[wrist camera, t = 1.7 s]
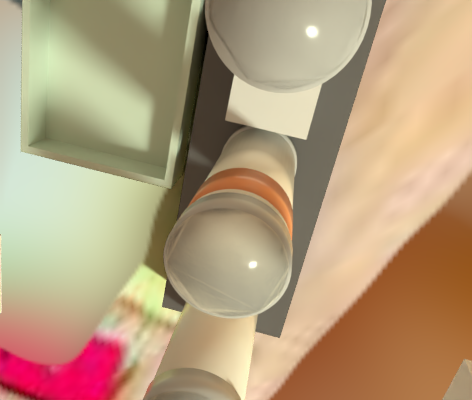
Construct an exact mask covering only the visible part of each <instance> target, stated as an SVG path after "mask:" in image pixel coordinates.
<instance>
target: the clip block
mask: <svg viewBox="0 0 472 400" xmlns="http://www.w3.org/2000/svg"><path fill="white" fill-rule="evenodd" d="M385 2H386V0H372V6H371V15H370V19H369V24H368V28H367V30H366V33H365V36H364V38H363V40H362V42H361V44H360V46H359V48H358V50H357V51H356V53H355V54H354V56H353V57H352V59H351V60H350V61H349V62H348V63H347V65H346V66H345V67H344V68H343V69H342V70H341V71H339V72H338V73H337V74H336V75H335V76H333V77H332V78H331V79H329V80H328V81H326V82H324V83H322V84H320V85H319V86H316V87H314V88H311V89H308V90H305V91H301V92H295V93H274V92H268V91H264V90H261V89H258V88H256V87H253V86H251V85H249V84H247V83H246V82H244V81H243V80H241V79H239V78H238V77H237V76H236V75H235V74H233V73H232V72H231V71H230V70H229V69H228V68H227V66H226V65H225V64H224V63H223V61H222V60H221V59H220V57H219V56H218V54H217V52H216V50H215V48H214V47H213V44H212V41H211V39H210V36H208V42H207V48H206V53H205V59H204V65H203V71H202V77H201V83H200V88H199V94H198V100H197V106H196V112H195V118H194V123H193V129H192V135H191V141H190V147H189V153H188V158H187V164H186V170H185V176H184V182H183V188H182V193H181V199H180V205H179V211H178V217H177V221H178V219H179V217H180V216H181V214H182V213H183V212H184V211H185V209H186V208H187V207H188V205H189V204H190V202H191V201H192V199H193V197H194V196H195V194H196V192H197V191H198V189H199V188H200V186H201V185H202V184H203V183H204V182H205V180H206V178H207V177H208V175H209V173H210V172H211V170H212V168H213V167H214V165H215V164H216V162H217V160H218V159H219V157H220V155H221V153H222V150H223V148H224V146H225V144H226V142H227V141H228V139H229V138H230V136H231V135H232V134H233V133H234V132H235V131H236V130H237V129H239V128H240V127H242V126H244V125H247V126H251V127H255V128H259V129H263V130H267V131H271V132H276V133H280V134H284V135H288V136H290V138H291V139H292V141H293V143H294V145H295V148H296V152H297V169H296V174H295V177H294V192H293V209H292V210H293V229H292V248H293V254H292V272H291V278H290V282H289V284H288V287H287V289H286V291H285V292H284V294H283V296H282V297H281V298H280V299H279V300H278V301H277V302H276V303H275V304H274V305H273V306H272V307H270V308H269V309H267V310H265V311H264V312H262V313H259V314H258V317H257V324H256V330H255V331H256V332H259V333H263V334H267V335H271V336H274V337H278V338H280V335H281V332H282V329H283V326H284V323H285V319H286V316H287V313H288V310H289V307H290V304H291V300H292V297H293V294H294V291H295V288H296V285H297V281H298V278H299V275H300V272H301V269H302V265H303V262H304V259H305V256H306V253H307V250H308V246H309V243H310V240H311V237H312V234H313V231H314V227H315V224H316V221H317V218H318V215H319V211H320V208H321V205H322V202H323V199H324V196H325V192H326V189H327V186H328V183H329V180H330V177H331V173H332V170H333V167H334V164H335V161H336V157H337V154H338V151H339V148H340V145H341V142H342V138H343V135H344V132H345V129H346V126H347V123H348V119H349V116H350V113H351V110H352V107H353V103H354V100H355V97H356V94H357V91H358V88H359V84H360V81H361V78H362V75H363V72H364V69H365V65H366V62H367V59H368V56H369V53H370V49H371V46H372V43H373V40H374V37H375V34H376V30H377V27H378V24H379V21H380V18H381V15H382V11H383V8H384V5H385ZM185 303H186V301H185V300H184V299H183V298H182V297H181V296H180V295H179V294H178V293H177V292H176V291H175V289H174V288H173V286H172V285H171V283H170V281H169V279H168V277H167V281H166V287H165V293H164V298H163V304H162V307H165V308H169V309H172V310H176V311H180V312H182V310H183V308H184V306H185Z"/></svg>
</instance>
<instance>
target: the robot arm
mask: <svg viewBox="0 0 472 400" xmlns="http://www.w3.org/2000/svg"><path fill="white" fill-rule="evenodd" d="M1 291H2V285H1V234H0V313H1V312H2V292H1ZM442 400H472V361H470V360H467V359H464V361H463V362H462V364H461V366H460V368H459V370H458V371H457V373H456V375H455V377H454V379H453V381H452V383H451V384H450V387H449V388H448V390H447V392H446V394H445V396H444V397H443V399H442Z"/></svg>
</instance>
